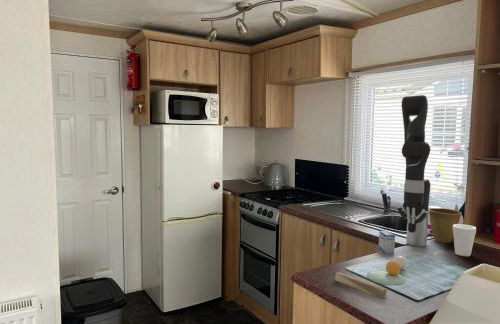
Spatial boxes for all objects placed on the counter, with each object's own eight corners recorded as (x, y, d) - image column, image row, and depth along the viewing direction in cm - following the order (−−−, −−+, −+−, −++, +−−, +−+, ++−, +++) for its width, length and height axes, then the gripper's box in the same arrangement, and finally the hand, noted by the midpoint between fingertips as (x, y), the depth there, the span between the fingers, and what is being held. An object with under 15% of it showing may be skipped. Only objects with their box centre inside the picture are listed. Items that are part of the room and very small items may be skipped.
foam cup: (469, 258, 174) (471, 230, 173) (448, 253, 181) (449, 226, 180) (477, 254, 180) (479, 226, 179) (456, 249, 187) (457, 223, 186)
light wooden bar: (338, 279, 147) (339, 271, 147) (386, 297, 132) (386, 288, 132) (335, 280, 146) (335, 272, 146) (383, 298, 131) (383, 290, 130)
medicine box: (378, 248, 188) (379, 230, 187) (387, 248, 188) (387, 230, 187) (385, 253, 180) (386, 235, 179) (394, 253, 180) (395, 235, 180)
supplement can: (443, 235, 212) (444, 208, 211) (427, 234, 214) (428, 207, 212) (439, 232, 220) (440, 205, 219) (423, 231, 222) (424, 205, 220)
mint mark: (361, 271, 156) (361, 271, 156) (395, 271, 157) (395, 270, 157) (375, 285, 142) (375, 284, 142) (412, 284, 143) (412, 284, 143)
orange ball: (387, 268, 157) (380, 265, 154) (397, 260, 156) (391, 256, 152) (394, 279, 153) (388, 276, 150) (405, 271, 152) (399, 267, 148)
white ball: (395, 256, 164) (393, 269, 162) (392, 253, 160) (391, 266, 158) (408, 258, 161) (407, 272, 159) (406, 255, 157) (405, 268, 155)
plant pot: (442, 246, 193) (443, 214, 191) (421, 238, 207) (422, 208, 206) (466, 244, 196) (468, 213, 195) (444, 236, 211) (446, 207, 209)
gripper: (394, 189, 162) (392, 230, 163) (425, 193, 151) (423, 237, 153) (403, 187, 166) (401, 227, 168) (434, 191, 156) (432, 234, 158)
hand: (411, 232), depth 160 cm, fingers closed
